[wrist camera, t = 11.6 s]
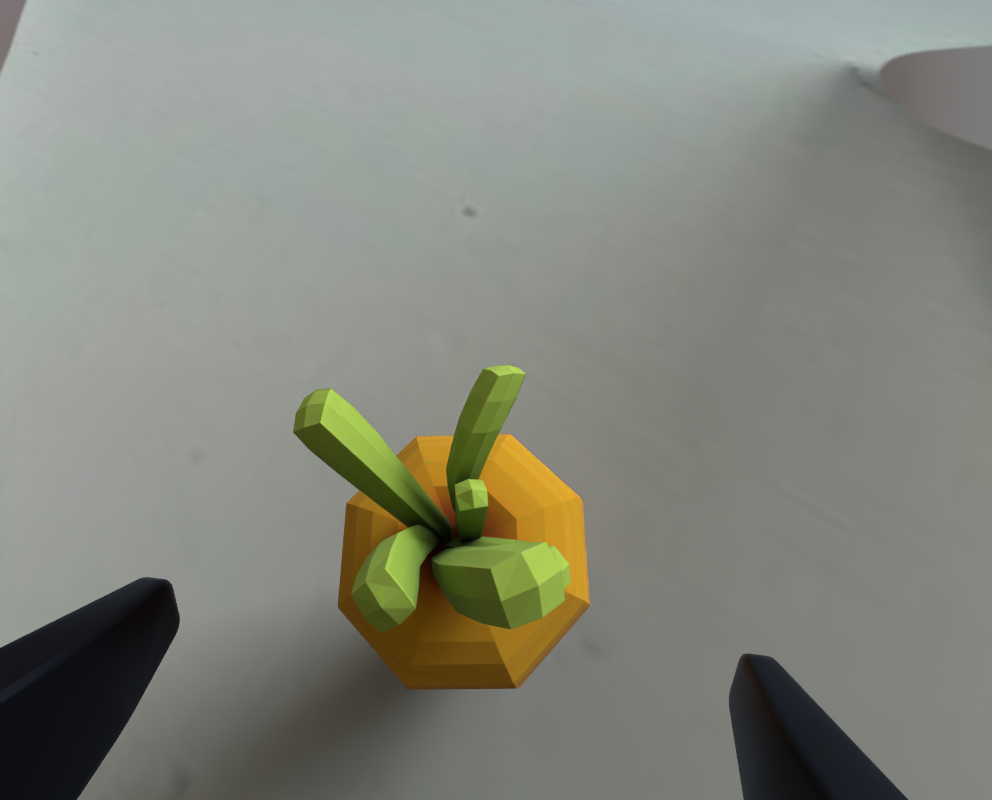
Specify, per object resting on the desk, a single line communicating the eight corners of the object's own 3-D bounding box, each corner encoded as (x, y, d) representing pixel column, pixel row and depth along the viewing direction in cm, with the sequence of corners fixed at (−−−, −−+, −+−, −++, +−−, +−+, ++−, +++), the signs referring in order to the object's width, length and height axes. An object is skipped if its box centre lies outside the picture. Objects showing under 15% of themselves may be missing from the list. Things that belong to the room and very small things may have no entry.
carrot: (404, 547, 21) (149, 397, 7) (528, 493, 21) (531, 246, 7) (455, 687, 19) (250, 877, 5) (588, 624, 19) (745, 635, 5)
